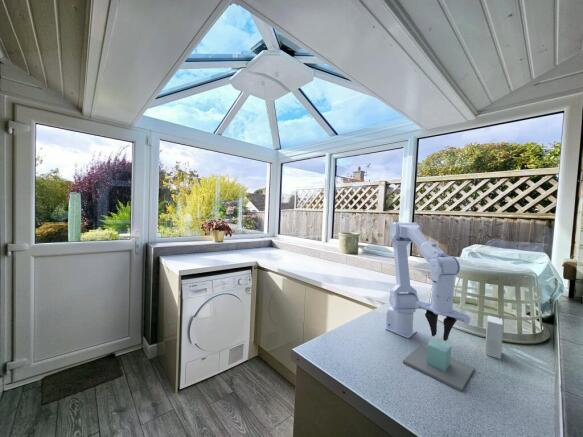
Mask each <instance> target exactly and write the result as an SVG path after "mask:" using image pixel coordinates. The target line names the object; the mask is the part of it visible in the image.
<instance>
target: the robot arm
mask: <svg viewBox="0 0 583 437" xmlns="http://www.w3.org/2000/svg"><path fill="white" fill-rule="evenodd" d="M421 229H422V228H421V226H420V225H419V223H417V222H397V221H393V222H392V223H391V225H390V227H389V240H390V243H391V244H393V245H392V247H393V257H394V259H393V260H394V268H395V270H394V272H395V282H396V284H395V285H394V286H393V287H392V288H390V290H389V304H390V306H388V308H387V311H386V318H385V320H386V323H385V327H384V329H385V330H387V331H389V332H392V333H393V334H396V335H398V336H402V337H404V338H405V339H410V338H411V337H412V336H413V335H415V334H416V333H417V332H418V331H417V329H416V330H415V328H414V313H416V310H420V309H421V310H424V311H425V313H424V316H425V318H426V321H427V322H428V325H429V328H430V331H431V336H432V337H435V336H437V333H438V332H437V331H438V328H437V327H438V318H439V316H442V317H444V319H443V335H442V337H443V341H445V342H447V341H448V340H449V336H450V333H451V330H452V329H453V327H454V325H455V323H456V322H458V321H459V322H463V323H464V324H466V325H469V324H470V322H471V315H468V314H465V313H463V312H460V311H458V310H455V309H453V305H454V293H455V292H454V290H455V276H457V275H458V274H459V273H460V270H461V265H460V262H459V260H458V258H457V257H455V256H452V255H451V256H450V255H449V254H446V253H445V252H444V250H442V249H441V248H440V247H439V246H438V245H437V243H436V242H434V241H429V240H428V239H427V238H426V236H425V235H424V234H423V233H422V232H421ZM412 243H414V245H417V247H418V248H419V251H418V252H419V254H420V255H421V256H422V257H423V258H424V259H425V261H426V262H427V263H428V269H429V271H430V277H431V278H430V279H431V280H432V282H431V283H432V284H431V298H430V299H431V301H430V302H431V303H429V302H423V301H420V298H419V296H418V292H417V289H416V288H414V287H413V286H412V285H411V281H410V280H411V279H410V277H411V276H410V268H409V258H408V245H409V244H412Z"/></svg>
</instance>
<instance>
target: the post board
mask: <svg viewBox="0 0 583 437" xmlns="http://www.w3.org/2000/svg"><path fill="white" fill-rule="evenodd" d="M426 360H427V346H424V345H422V344H419V345H418V346H417V347H416V348H415V349H414V350H413V351H411V352H410V353H409V354H408V355H407V356H406V357H405V358H404V359H403V360H402V363H403V364H405V365H407V366H409V367H411V368H413V369H415V370H416V371H418V372H420V373H423V374H425V375H427V376H429V377H430V378H433V379H434V380H435V379H436V380H437V381H439V382H441V383H443V384H446V385H447V386H450V387H451V388H453V389H455V390H457V391H459V392H461V393H462V392H463V390H464V389H465V387H466V386H467V384H468V382H469V380H470V379H471V377H472V375H473V373H474V372H475V370H476V369H475V367H474V366H472V365H469V364H467V363H465V362H463V361H461V360H457V359H455V358H452V357H451V361H450V365H449V367H448V368H447V369H446V371H443V370H441V369H439V368H436V367H434V366H432V365H430V364H428V363H426Z"/></svg>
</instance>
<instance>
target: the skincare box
mask: <svg viewBox="0 0 583 437" xmlns="http://www.w3.org/2000/svg"><path fill="white" fill-rule="evenodd" d="M486 318H487V319H486V320H487V321H486V331H485V332H486V333H485V352H484V353H485V355H486V356H489V357H492V358H495V359H499V360H502V350H503V348H502V346H503V331H504V330H503V329H504V321H503V318H499V317H496V316H493V315H492V316H491V315H487V316H486Z"/></svg>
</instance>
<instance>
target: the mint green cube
mask: <svg viewBox="0 0 583 437" xmlns="http://www.w3.org/2000/svg"><path fill="white" fill-rule="evenodd" d="M426 347H427V360H426V363H428V364H430V365H432V366H434V367H436V368H439V369H441V370H443V371H446V369H447V368H448V367H449V365H450V361H451V358H452V357H451V356H452V345H451V344H447V343H445V342H442V341H440V340H437V339H434V338H432V339H431V340H430V341H429V342H428V344H427V346H426Z"/></svg>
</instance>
